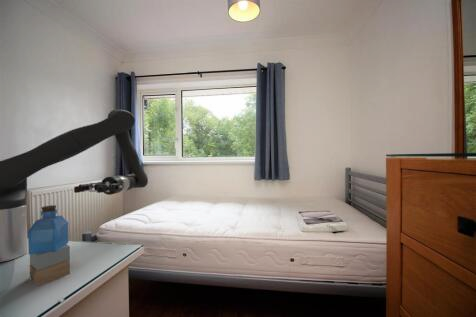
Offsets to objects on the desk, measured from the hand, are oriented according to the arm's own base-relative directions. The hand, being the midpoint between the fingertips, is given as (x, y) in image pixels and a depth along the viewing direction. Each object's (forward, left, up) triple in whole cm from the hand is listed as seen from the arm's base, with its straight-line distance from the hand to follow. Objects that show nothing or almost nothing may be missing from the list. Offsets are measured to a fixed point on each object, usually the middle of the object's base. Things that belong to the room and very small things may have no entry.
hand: (86, 189), depth 73 cm
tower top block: (+8, -12, -19) cm, 23 cm away
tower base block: (+8, -12, -23) cm, 27 cm away
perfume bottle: (+8, -12, -15) cm, 20 cm away
